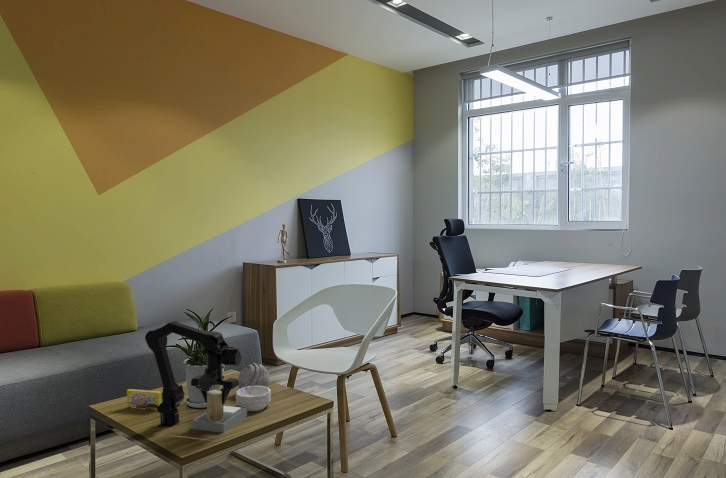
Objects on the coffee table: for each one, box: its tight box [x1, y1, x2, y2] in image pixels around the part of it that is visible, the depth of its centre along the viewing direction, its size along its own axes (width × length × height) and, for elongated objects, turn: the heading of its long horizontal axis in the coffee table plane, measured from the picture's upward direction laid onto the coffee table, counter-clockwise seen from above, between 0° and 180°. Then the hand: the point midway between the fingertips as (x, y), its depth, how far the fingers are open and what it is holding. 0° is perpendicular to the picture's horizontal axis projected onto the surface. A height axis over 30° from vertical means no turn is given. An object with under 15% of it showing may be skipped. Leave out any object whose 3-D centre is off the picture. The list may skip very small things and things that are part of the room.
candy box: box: [126, 388, 162, 411], centre depth 234 cm, size 16×2×8 cm, turn 76°
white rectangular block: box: [223, 405, 241, 421], centre depth 219 cm, size 10×6×4 cm, turn 73°
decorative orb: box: [237, 362, 270, 389], centre depth 251 cm, size 15×14×15 cm
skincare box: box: [206, 389, 225, 423], centre depth 211 cm, size 6×4×12 cm
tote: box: [191, 408, 248, 433], centre depth 215 cm, size 14×18×4 cm
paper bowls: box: [235, 386, 272, 412], centre depth 232 cm, size 15×15×8 cm
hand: (215, 403), depth 211 cm, fingers closed on skincare box, 7 cm apart
